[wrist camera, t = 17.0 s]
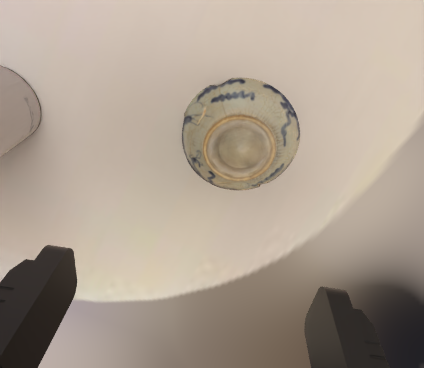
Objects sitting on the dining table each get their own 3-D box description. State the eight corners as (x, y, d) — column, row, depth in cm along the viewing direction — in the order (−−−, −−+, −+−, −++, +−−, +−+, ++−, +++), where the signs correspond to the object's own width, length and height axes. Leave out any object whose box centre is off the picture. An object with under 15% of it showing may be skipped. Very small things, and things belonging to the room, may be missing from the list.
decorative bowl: (233, 46, 36) (155, 143, 42) (233, 53, 32) (149, 156, 39) (326, 131, 40) (243, 206, 47) (334, 144, 37) (243, 223, 43)
